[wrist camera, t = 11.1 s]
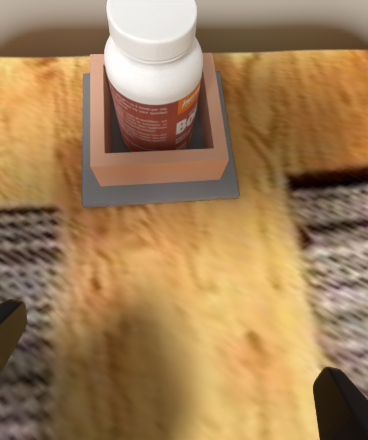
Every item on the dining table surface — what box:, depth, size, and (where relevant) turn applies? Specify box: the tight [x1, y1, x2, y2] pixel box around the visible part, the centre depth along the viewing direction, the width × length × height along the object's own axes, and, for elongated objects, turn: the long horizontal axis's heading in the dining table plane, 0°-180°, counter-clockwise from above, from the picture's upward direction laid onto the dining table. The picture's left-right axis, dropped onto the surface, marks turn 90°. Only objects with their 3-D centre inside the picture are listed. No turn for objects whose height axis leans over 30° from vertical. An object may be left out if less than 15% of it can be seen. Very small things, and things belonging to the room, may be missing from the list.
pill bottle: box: [104, 0, 203, 152], centre depth 20 cm, size 6×6×11 cm
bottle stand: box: [82, 53, 239, 208], centre depth 24 cm, size 13×13×4 cm
